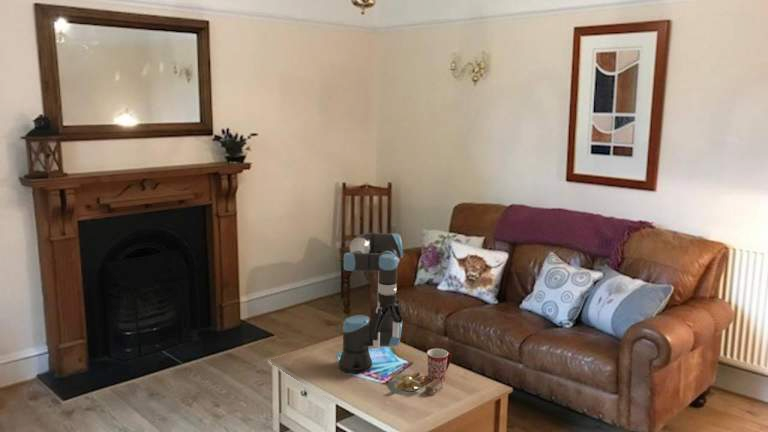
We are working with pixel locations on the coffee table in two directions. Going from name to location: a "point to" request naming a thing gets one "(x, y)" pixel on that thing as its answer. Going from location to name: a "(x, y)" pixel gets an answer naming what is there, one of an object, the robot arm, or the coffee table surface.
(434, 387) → the brown angular block
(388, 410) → the coffee table surface
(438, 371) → the mug
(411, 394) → the stand plate
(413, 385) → the cam capstan
